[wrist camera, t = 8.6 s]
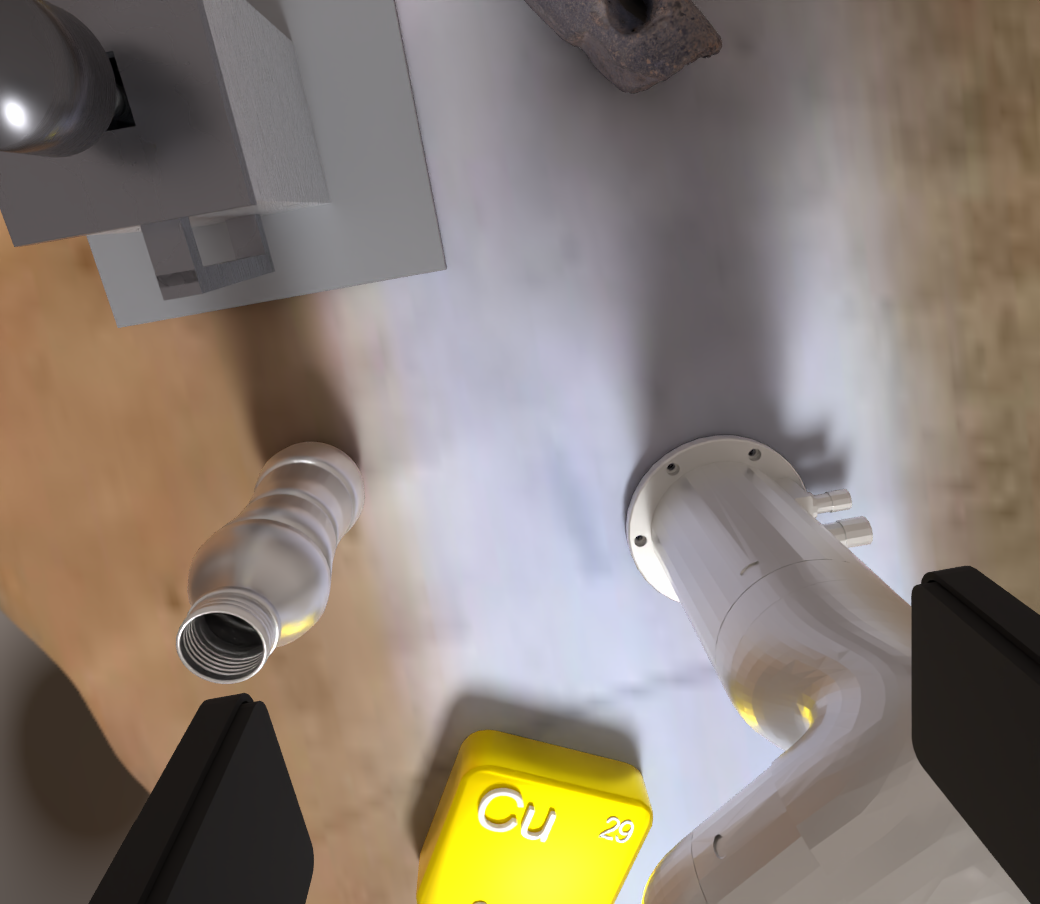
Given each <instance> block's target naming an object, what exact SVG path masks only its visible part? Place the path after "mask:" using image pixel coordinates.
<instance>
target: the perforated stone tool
mask: <svg viewBox="0 0 1040 904" xmlns="http://www.w3.org/2000/svg"><path fill="white" fill-rule="evenodd" d="M524 1H525V2H526V3H527V4H528V5H529V6H530V7H531V8H532V9H533V10H534V11H535V12H536V13H537V14H538V15H539V16H540V17H541V19H543V21H544V22H545V23H546V24H548V25H549V26H550V27H551V28H552V29H553V30H554V31H555V32H556V33H557V34H558V35H559V36H560V37H561V38H562V39H563V40H565V41H567V42H568V43H569V44H571V45H573V46H577V47H579V48H581V49H582V50H583V51H584V52H585V53H586V54H587V56H588V57H589V59H590V61H591V62H592V63H593V64H594V65H595V67H596V68H597V69H598V70H599V71H600V73H601V74H603V75H604V76H605V77H606V78H608V79H609V80H610V81H611V82H612V83H613V84H614V85H615V86H617V87H618V88H619V89H620V90H622V91H623V92H629V93H638V92H640V91H644V90H647V89H649V88H650V87H652V86H653V85H655V84H657V83H658V82H660V81H665V80H667V79H668V78H669V77H670V76H672V75H673V74H675V73H677V72H679V71H680V70H681V69H682V68H683V67H684V65H688V64H689V63H692V62H694V61H695V60H697V59H698V58H700V57H702V58H706V57H707V58H709V57H711V55H715V54H718V53H719V51H720V49H721V48H722V40H721V38H720V36H719V35H718V33H717V32H716V31H715V29H714V28H713V27H712V25H711V24H710V23H709V22H708V20H707V19H706V18H705V17H704V15H703V14H702V13H701V12H700V11H699V9H698V8H697V7H696V6H695V5H694V4H693V2H692V1H691V0H524Z"/></svg>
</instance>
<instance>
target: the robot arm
mask: <svg viewBox="0 0 1040 904" xmlns="http://www.w3.org/2000/svg"><path fill="white" fill-rule="evenodd" d="M752 449H754V450H753V452H752V453H751V454H749V452H750V451H751V450H752ZM672 463H673V467H672V468H667V467H668V465H669V464H672ZM851 506H852V500H851V496H850V493H849V492H848V491H847V489H841V490H835V491H829V492H826V493H824V494H818V495H813V494H812V493H811V492H807V491H806V489H805V487H804V484H803V482H802V480H801V478H800V476H799V475H798V473H797V472H796V471H795V469H794V468H793V467H792V465H791V464H790V463H789V462H788V461H787V460H786V459H785V458H783V457H782V456H781V455H780V454H779V453H777V452H776V451H774V450H773V449H771V448H770V447H768V446H767V445H765V444H762V443H760V442H758V441H755V440H753V439H750V438H745V437H740V436H735V435H716V436H710V437H705V438H699V439H696V440H694V441H691V442H688V443H686V444H683V445H681V446H679V447H677V448H676V449H674V450H672V451H671V452H669V453H667V454H666V455H665V456H663V457H662V458H661V459H660V460H659V461H657V462H656V463H655V464H654V465H653V466H652V467H651V468H650V469H649V471H648V472H647V473H646V474H645V475H644V477H643V478H642V479H641V481H640V483H639V484H638V486H637V488H636V490H635V492H634V493H633V496H632V499H631V502H630V505H629V508H628V513H627V521H626V533H627V542H628V546H629V549H630V552H631V556H632V558H633V560H634V562H635V564H636V566H637V569H638V570H639V571H640V573H641V574H642V576H643V577H644V579H645V580H646V581H647V582H648V583H649V584H650V585H651V586H652V587H653V588H654V589H656V590H657V591H658V592H659V593H661V594H663V595H664V596H666V597H668V598H669V599H671V600H674V601H676V602H679V603H681V605H682V607H683V609H684V611H685V613H686V615H687V617H688V619H689V621H690V622H691V624H692V626H693V628H694V630H695V632H696V634H697V636H698V638H699V640H700V642H701V644H702V646H703V648H704V650H705V652H706V654H707V656H708V658H709V660H710V662H711V664H712V666H713V667H714V669H715V671H716V673H717V675H718V677H719V679H720V681H721V683H722V685H723V687H724V689H725V691H726V693H727V695H728V697H729V699H730V701H731V702H732V704H733V705H734V707H735V708H736V710H737V711H738V713H739V714H740V716H741V717H742V718H743V719H744V720H745V721H746V722H747V723H748V724H749V725H750V726H751V728H753V729H754V730H755V731H756V732H757V733H758V734H760V735H761V736H762V737H764V738H765V739H766V740H768V741H769V742H771V743H772V744H774V745H775V746H777V747H779V748H781V749H783V750H784V751H785V752H784V753H783V754H781V755H780V756H779V757H778V758H777V759H775V760H774V761H773V762H772V765H771V766H770V767H769V768H768V769H767V770H765V771H764V772H763V773H762V774H761V775H759V776H758V777H757V778H756V779H754V780H753V781H752V782H751V783H750V784H748V785H747V786H746V787H745V788H744V789H742V790H741V791H740V792H739V793H737V794H736V795H735V796H734V797H733V798H731V799H730V800H729V801H728V802H727V803H725V804H724V805H723V806H722V807H720V808H719V809H718V810H717V811H716V812H714V813H713V814H712V815H711V816H709V817H708V818H707V819H706V820H705V821H703V822H702V823H701V824H700V825H699V826H698V827H696V828H695V829H694V830H693V831H692V832H690V833H689V834H688V835H687V836H686V837H684V838H683V839H682V840H681V841H680V842H679V843H678V844H677V845H676V846H675V847H674V848H673V849H672V850H670V851H669V852H668V853H667V854H666V855H665V856H664V857H663V859H662V860H661V861H660V862H659V863H658V865H657V866H656V868H655V869H654V871H653V872H652V874H651V876H650V878H649V880H648V882H647V884H646V887H645V890H644V895H643V900H642V904H1040V615H1039V614H1037V613H1036V612H1035V611H1033V610H1032V609H1031V608H1029V607H1028V606H1026V605H1025V604H1024V603H1022V602H1021V601H1020V600H1018V599H1017V598H1015V597H1014V596H1013V595H1011V594H1010V593H1008V592H1007V591H1006V590H1004V589H1003V588H1002V587H1000V586H999V585H997V584H996V583H995V582H993V581H992V580H991V579H989V578H988V577H986V576H985V575H984V574H982V573H981V572H979V571H978V570H977V569H975V568H973V567H971V566H961V567H956V568H950V569H944V570H939V571H933V572H928V573H926V574H925V575H924V576H923V578H922V581H921V584H919V585H916V586H914V588H913V590H912V596H911V606H910V605H909V604H908V603H907V602H905V601H904V600H903V599H902V598H901V597H900V596H899V595H898V594H897V593H895V592H894V591H893V590H892V589H891V588H890V587H889V586H888V585H887V584H886V583H885V582H883V581H882V580H881V579H880V578H879V577H878V576H877V575H876V574H875V573H874V572H873V571H872V570H871V569H869V568H868V567H867V566H866V565H865V564H864V563H863V562H862V561H861V560H860V559H859V558H858V557H856V556H855V555H854V554H853V553H852V552H851V551H850V550H849V549H848V548H851V547H856V546H862V545H868V544H871V542H872V540H873V533H872V528H871V526H870V523H869V521H868V520H867V519H866V517H863V516H860V517H854V518H848V519H843V520H837V521H836V522H834V523H828V524H821V523H820V522H818V521H817V520H816V519H815V518H816V517H817V514H820V513H826V512H837V511H843V510H848V509H850V508H851ZM639 535H641V537H640V538H636V537H637V536H639ZM313 867H314V854H313V847H312V843H311V840H310V837H309V834H308V831H307V828H306V825H305V822H304V819H303V816H302V813H301V810H300V807H299V804H298V801H297V798H296V795H295V792H294V789H293V786H292V783H291V780H290V777H289V774H288V771H287V768H286V765H285V762H284V759H283V756H282V752H281V749H280V746H279V743H278V740H277V737H276V734H275V731H274V728H273V725H272V722H271V719H270V716H269V713H268V710H267V708H266V706H265V704H264V703H263V702H262V701H256V702H253V699H252V698H251V697H250V695H249V694H246V693H242V694H236V695H231V696H225V697H219V698H214V699H208V700H206V701H204V702H203V703H202V704H201V705H200V707H199V709H198V711H197V712H196V714H195V716H194V718H193V720H192V721H191V723H190V725H189V727H188V729H187V730H186V732H185V734H184V736H183V737H182V739H181V741H180V743H179V745H178V746H177V748H176V750H175V752H174V753H173V755H172V757H171V759H170V761H169V762H168V764H167V766H166V768H165V770H164V771H163V773H162V775H161V777H160V778H159V780H158V782H157V784H156V786H155V787H154V789H153V791H152V793H151V794H150V796H149V798H148V800H147V802H146V803H145V805H144V807H143V809H142V811H141V813H140V814H139V816H138V818H137V820H136V821H135V822H134V824H133V825H132V827H131V829H130V831H129V833H128V834H127V836H126V838H125V840H124V841H123V843H122V845H121V847H120V849H119V850H118V852H117V854H116V856H115V858H114V859H113V861H112V863H111V865H110V866H109V868H108V870H107V872H106V874H105V875H104V877H103V879H102V881H101V882H100V884H99V886H98V888H97V890H96V891H95V893H94V895H93V897H92V898H91V900H90V902H89V904H305V903H306V899H307V895H308V891H309V887H310V883H311V879H312V874H313Z"/></svg>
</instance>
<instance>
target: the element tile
mask: <svg viewBox="0 0 1040 904" xmlns="http://www.w3.org/2000/svg"><path fill="white" fill-rule="evenodd" d="M652 822H653V811H652V808H651V804H650V801H649V797H648V794H647V791H646V787H645V784H644V780H643V777H642V775H641V773H640V772H639V770H638V769H636V768H635V767H634V766H632V765H630V764H628V763H625V762H621V761H617V760H613V759H609V758H605V757H601V756H597V755H593V754H589V753H585V752H581V751H577V750H573V749H568V748H564V747H560V746H556V745H552V744H548V743H544V742H540V741H536V740H532V739H528V738H524V737H520V736H516V735H512V734H508V733H504V732H500V731H495V730H481V731H477V732H475V733H472V734H470V735H469V736H468V737H467V738H466V739H465V740H464V742H463V743H462V744H461V747H460V749H459V752H458V755H457V757H456V760H455V763H454V765H453V768H452V771H451V773H450V776H449V778H448V781H447V784H446V786H445V789H444V792H443V794H442V797H441V800H440V802H439V805H438V808H437V810H436V813H435V815H434V818H433V821H432V823H431V826H430V829H429V831H428V834H427V837H426V839H425V842H424V844H423V847H422V850H421V852H420V859H419V870H418V881H417V892H416V899H417V904H614V902H615V900H616V898H617V896H618V894H619V892H620V890H621V888H622V886H623V884H624V882H625V880H626V878H627V876H628V874H629V871H630V869H631V867H632V865H633V863H634V861H635V859H636V857H637V855H638V853H639V851H640V849H641V847H642V845H643V843H644V841H645V839H646V837H647V835H648V832H649V830H650V828H651V826H652Z"/></svg>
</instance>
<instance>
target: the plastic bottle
mask: <svg viewBox="0 0 1040 904" xmlns="http://www.w3.org/2000/svg"><path fill="white" fill-rule="evenodd" d="M364 499H365V495H364V483H363V478H362V475H361V472H360V470H359V469H358V467H357V465H356V464H355V462H354V461H353V460H352V459H351V458H350V457H349V456H348V455H347V454H345V453H344V452H343V451H341V450H340V449H338V448H336V447H334V446H331V445H328V444H326V443H320V442H302V443H297V444H294V445H291V446H289V447H287V448H285V449H283V450H281V451H279V452H278V453H276V454H275V455H273V456H272V457H271V458H270V459H269V460H268V461H267V462H266V463H265V465H264V467H263V468H262V470H261V472H260V474H259V477H258V479H257V482H256V486H255V489H254V494H253V496H252V498H251V500H250V502H249V504H248V505H247V506H246V507H245V508H244V510H243V511H242V512H241V513H240V514H239V515H238V516H237V517H236V518H234V519H233V520H232V521H230V522H229V523H227V524H226V525H225V526H223V527H222V528H221V529H219V530H218V531H217V532H215V533H214V534H213V535H212V536H211V537H210V538H209V539H208V540H207V541H206V542H205V543H204V544H203V545H202V546H201V547H200V548H199V549H198V551H197V553H196V554H195V556H194V558H193V560H192V563H191V566H190V569H189V577H188V590H187V591H188V597H189V602H190V605H191V609H190V610H189V612H188V614H187V617H186V619H185V620H184V621H183V623H182V625H181V626H180V628H179V631H178V634H177V637H176V648H177V653H178V655H179V657H180V660H181V661H182V662H183V664H184V665H185V666H186V667H187V668H188V669H189V670H190V671H191V672H192V673H194V674H195V675H197V676H198V677H200V678H202V679H204V680H207V681H210V682H214V683H220V684H233V683H238V682H242V681H244V680H247V679H249V678H250V677H252V676H254V675H255V674H256V673H257V672H258V671H259V670H260V669H261V668H262V667H263V665H264V664H265V662H266V661H267V658H268V656H269V655H270V654H271V653H272V652H273V651H274V649H275V648H276V647H281V646H283V645H286V644H288V643H291V642H293V641H294V640H296V639H298V638H299V637H301V636H302V635H303V634H304V633H306V632H307V631H308V630H309V629H310V628H311V627H312V626H313V625H314V624H315V623H316V622H317V621H318V620H319V618H320V617H321V615H322V614H323V612H324V610H325V607H326V605H327V602H328V597H329V593H330V586H331V573H332V562H333V558H334V555H335V550H336V547H337V545H338V543H339V542H340V540H341V538H342V537H343V536H344V535H345V534H346V533H347V532H348V531H349V530H350V529H351V528H352V526H353V525H354V524H355V522H356V521H357V519H358V518H359V516H360V514H361V512H362V509H363V506H364Z"/></svg>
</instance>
